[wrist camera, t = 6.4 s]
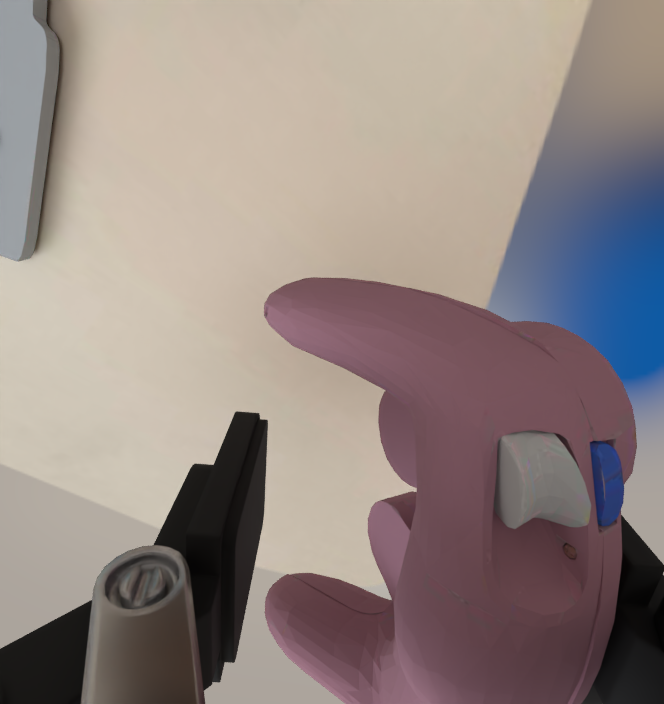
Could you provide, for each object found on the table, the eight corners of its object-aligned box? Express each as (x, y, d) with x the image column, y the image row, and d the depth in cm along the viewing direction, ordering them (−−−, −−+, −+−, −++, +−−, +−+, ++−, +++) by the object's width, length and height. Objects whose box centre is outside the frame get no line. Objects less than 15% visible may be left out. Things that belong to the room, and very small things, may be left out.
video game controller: (388, 559, 15) (577, 807, 9) (253, 609, 13) (388, 966, 7) (425, 256, 11) (771, 352, 6) (248, 262, 9) (504, 419, 4)
